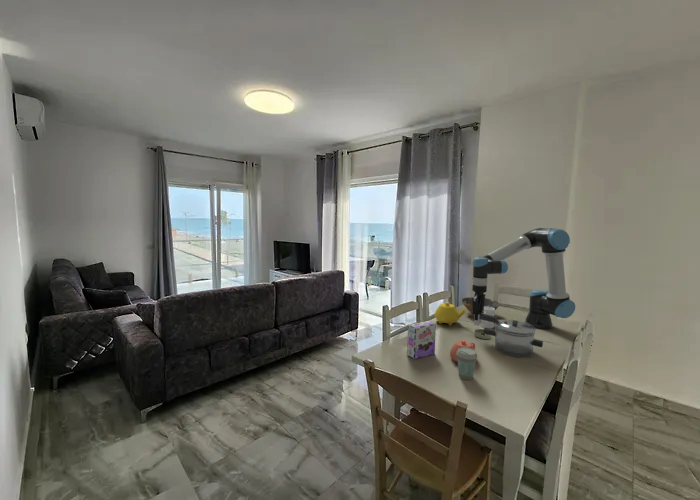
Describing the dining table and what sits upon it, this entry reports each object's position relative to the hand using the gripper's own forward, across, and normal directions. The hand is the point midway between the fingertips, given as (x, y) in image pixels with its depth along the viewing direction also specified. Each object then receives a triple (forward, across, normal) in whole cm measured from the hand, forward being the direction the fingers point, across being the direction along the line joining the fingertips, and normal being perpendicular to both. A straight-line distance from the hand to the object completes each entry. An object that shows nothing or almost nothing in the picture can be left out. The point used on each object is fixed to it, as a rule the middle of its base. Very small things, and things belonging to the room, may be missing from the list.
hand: (477, 324), depth 174 cm
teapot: (+9, -14, -24) cm, 29 cm away
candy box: (+9, +40, -12) cm, 43 cm away
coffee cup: (+9, +45, +13) cm, 48 cm away
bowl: (+9, -45, -16) cm, 49 cm away
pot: (+9, 0, +20) cm, 21 cm away
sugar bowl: (+9, +30, +6) cm, 32 cm away
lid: (-3, 0, +13) cm, 13 cm away
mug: (+9, -24, -4) cm, 26 cm away
